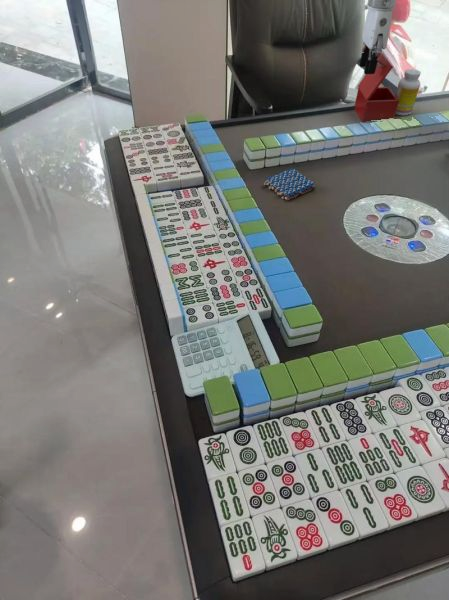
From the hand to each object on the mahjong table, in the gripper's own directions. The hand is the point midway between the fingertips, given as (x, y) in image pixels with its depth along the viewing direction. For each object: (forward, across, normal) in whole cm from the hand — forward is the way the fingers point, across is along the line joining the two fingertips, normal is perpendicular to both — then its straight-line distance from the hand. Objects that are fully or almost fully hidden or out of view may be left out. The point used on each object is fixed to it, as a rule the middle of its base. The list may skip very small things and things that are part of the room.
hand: (366, 69), depth 134 cm
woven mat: (+15, -41, +29) cm, 52 cm away
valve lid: (+3, 0, -3) cm, 4 cm away
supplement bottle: (+15, +1, -16) cm, 21 cm away
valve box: (+14, 0, -6) cm, 15 cm away
